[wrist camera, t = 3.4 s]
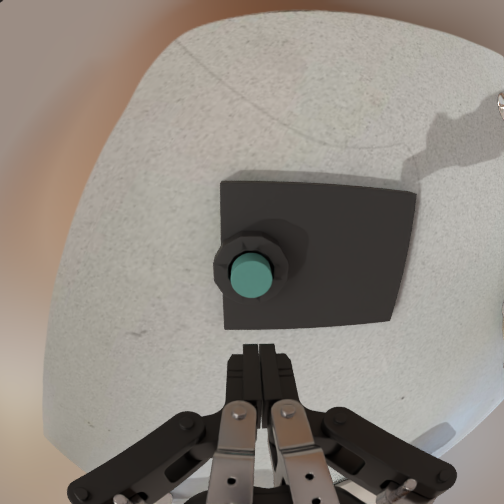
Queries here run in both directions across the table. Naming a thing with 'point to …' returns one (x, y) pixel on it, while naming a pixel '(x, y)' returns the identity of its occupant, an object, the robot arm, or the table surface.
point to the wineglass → (501, 104)
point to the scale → (314, 252)
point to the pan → (358, 491)
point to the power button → (251, 275)
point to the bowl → (503, 318)
